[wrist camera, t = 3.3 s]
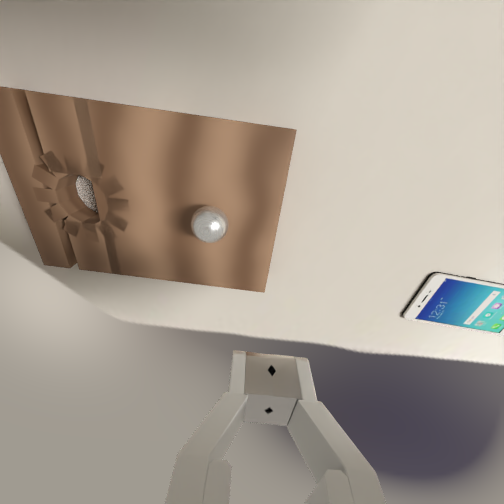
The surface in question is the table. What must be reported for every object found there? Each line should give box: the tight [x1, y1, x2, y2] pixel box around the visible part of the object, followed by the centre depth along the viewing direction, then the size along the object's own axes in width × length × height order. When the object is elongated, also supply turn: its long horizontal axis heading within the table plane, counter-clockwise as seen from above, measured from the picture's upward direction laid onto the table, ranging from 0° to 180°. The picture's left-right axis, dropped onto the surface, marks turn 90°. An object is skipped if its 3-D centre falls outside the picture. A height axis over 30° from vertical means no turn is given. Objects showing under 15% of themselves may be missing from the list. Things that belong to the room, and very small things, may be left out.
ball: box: [191, 206, 229, 243], centre depth 20 cm, size 3×3×3 cm
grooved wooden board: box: [0, 87, 296, 292], centre depth 22 cm, size 24×16×2 cm, turn 83°
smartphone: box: [402, 272, 504, 336], centre depth 28 cm, size 8×1×15 cm
